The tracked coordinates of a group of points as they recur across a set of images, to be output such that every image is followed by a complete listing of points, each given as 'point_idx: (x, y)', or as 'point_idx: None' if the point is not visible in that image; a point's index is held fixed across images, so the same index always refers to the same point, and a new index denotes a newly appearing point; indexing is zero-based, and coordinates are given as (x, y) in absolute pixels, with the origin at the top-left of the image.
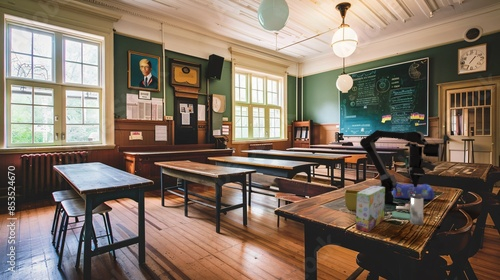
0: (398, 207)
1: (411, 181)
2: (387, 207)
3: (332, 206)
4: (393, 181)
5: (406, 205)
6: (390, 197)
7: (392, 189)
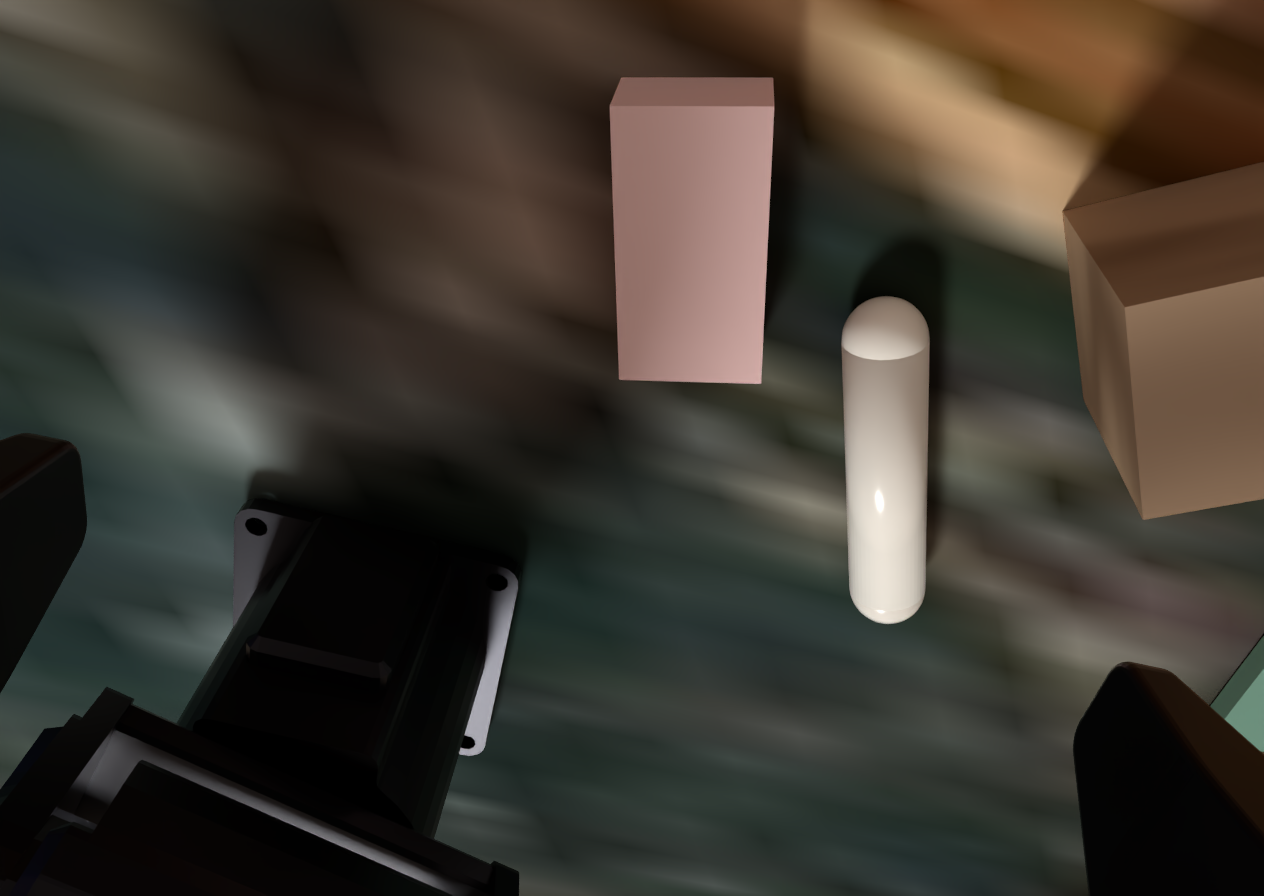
0: (925, 576)
1: (20, 655)
2: (801, 689)
3: None
4: None
5: (723, 370)
6: (413, 674)
7: (110, 738)
